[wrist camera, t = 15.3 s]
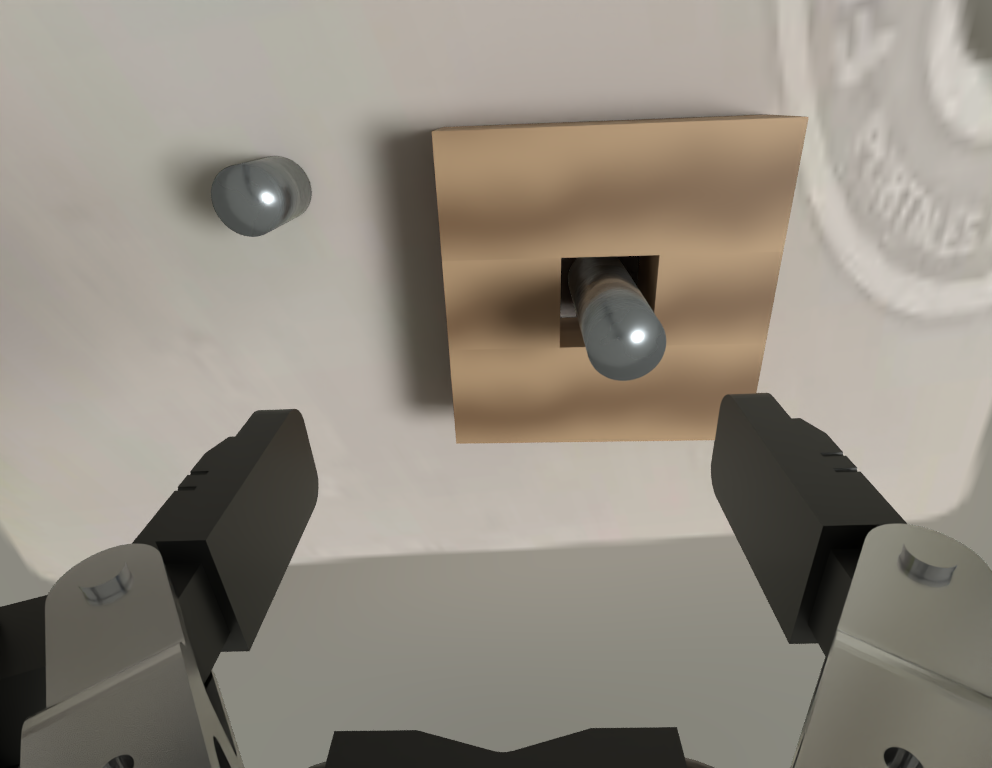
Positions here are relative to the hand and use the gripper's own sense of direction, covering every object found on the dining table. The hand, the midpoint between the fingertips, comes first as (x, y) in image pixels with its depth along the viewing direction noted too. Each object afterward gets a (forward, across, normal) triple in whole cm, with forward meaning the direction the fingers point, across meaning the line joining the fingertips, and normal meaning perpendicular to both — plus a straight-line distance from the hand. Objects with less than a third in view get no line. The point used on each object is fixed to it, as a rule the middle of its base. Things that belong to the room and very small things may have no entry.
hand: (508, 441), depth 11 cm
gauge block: (+26, -5, +5) cm, 27 cm away
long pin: (+26, -5, +5) cm, 27 cm away
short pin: (+26, +14, -1) cm, 29 cm away
